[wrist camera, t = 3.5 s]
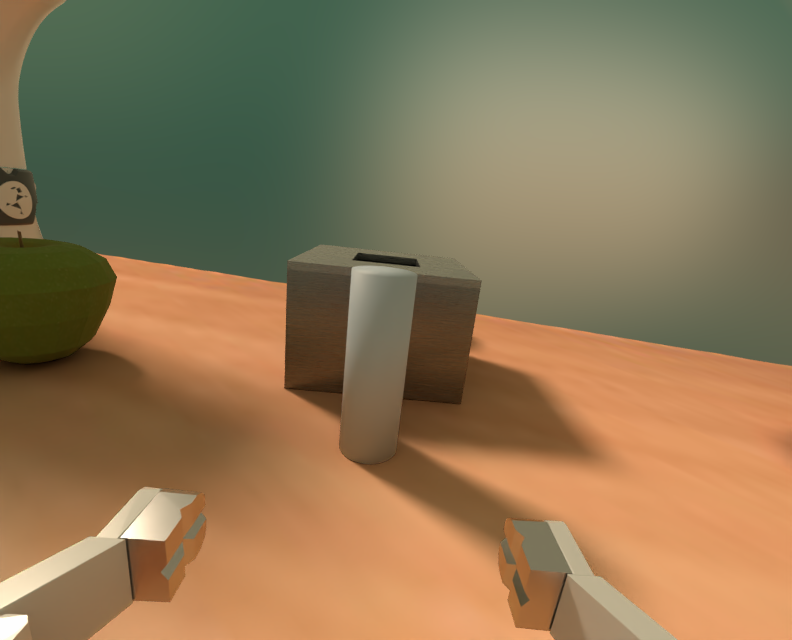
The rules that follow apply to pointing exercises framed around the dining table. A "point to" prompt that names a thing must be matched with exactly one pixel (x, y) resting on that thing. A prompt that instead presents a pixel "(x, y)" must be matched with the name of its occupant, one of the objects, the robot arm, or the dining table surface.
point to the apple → (50, 298)
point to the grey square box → (328, 320)
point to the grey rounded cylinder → (375, 361)
